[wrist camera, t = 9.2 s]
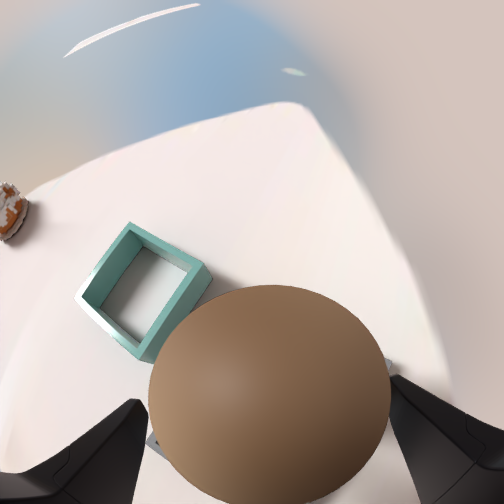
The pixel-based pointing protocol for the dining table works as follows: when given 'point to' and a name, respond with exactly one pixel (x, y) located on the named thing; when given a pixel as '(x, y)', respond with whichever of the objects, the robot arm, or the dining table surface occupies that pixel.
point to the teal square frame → (113, 269)
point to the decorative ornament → (10, 210)
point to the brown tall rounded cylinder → (269, 396)
